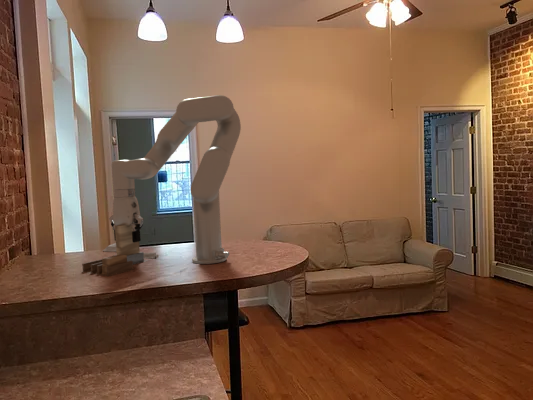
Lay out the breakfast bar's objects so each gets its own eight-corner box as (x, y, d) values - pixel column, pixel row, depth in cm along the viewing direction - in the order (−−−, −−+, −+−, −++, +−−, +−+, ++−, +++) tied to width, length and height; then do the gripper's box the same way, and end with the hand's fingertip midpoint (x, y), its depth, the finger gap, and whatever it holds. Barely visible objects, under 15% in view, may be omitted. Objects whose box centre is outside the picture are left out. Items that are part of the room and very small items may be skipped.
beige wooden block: (140, 260, 171) (137, 223, 170) (122, 265, 165) (120, 226, 164) (134, 260, 173) (132, 222, 172) (117, 264, 166) (114, 225, 165)
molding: (162, 259, 181) (162, 252, 181) (133, 264, 174) (132, 256, 174) (123, 247, 215) (122, 240, 215) (96, 250, 208) (96, 244, 207)
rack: (135, 272, 158) (134, 260, 157) (108, 279, 148) (108, 267, 148) (107, 268, 166) (106, 257, 166) (80, 275, 157) (79, 263, 156)
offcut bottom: (128, 269, 157) (128, 262, 157) (108, 274, 151) (108, 267, 150) (121, 268, 159) (121, 261, 159) (102, 273, 152) (101, 266, 152)
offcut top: (127, 262, 157) (126, 255, 156) (109, 266, 151) (108, 259, 151) (120, 261, 159) (119, 254, 158) (102, 265, 153) (102, 258, 152)
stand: (149, 263, 171) (148, 251, 171) (125, 269, 162) (124, 257, 162) (132, 261, 176) (132, 250, 176) (108, 267, 167) (107, 255, 167)
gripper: (148, 193, 165) (151, 240, 167) (117, 193, 175) (120, 238, 176) (132, 195, 159) (135, 244, 160) (100, 195, 169) (103, 241, 170)
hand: (127, 241), depth 168 cm, fingers open, 9 cm apart
